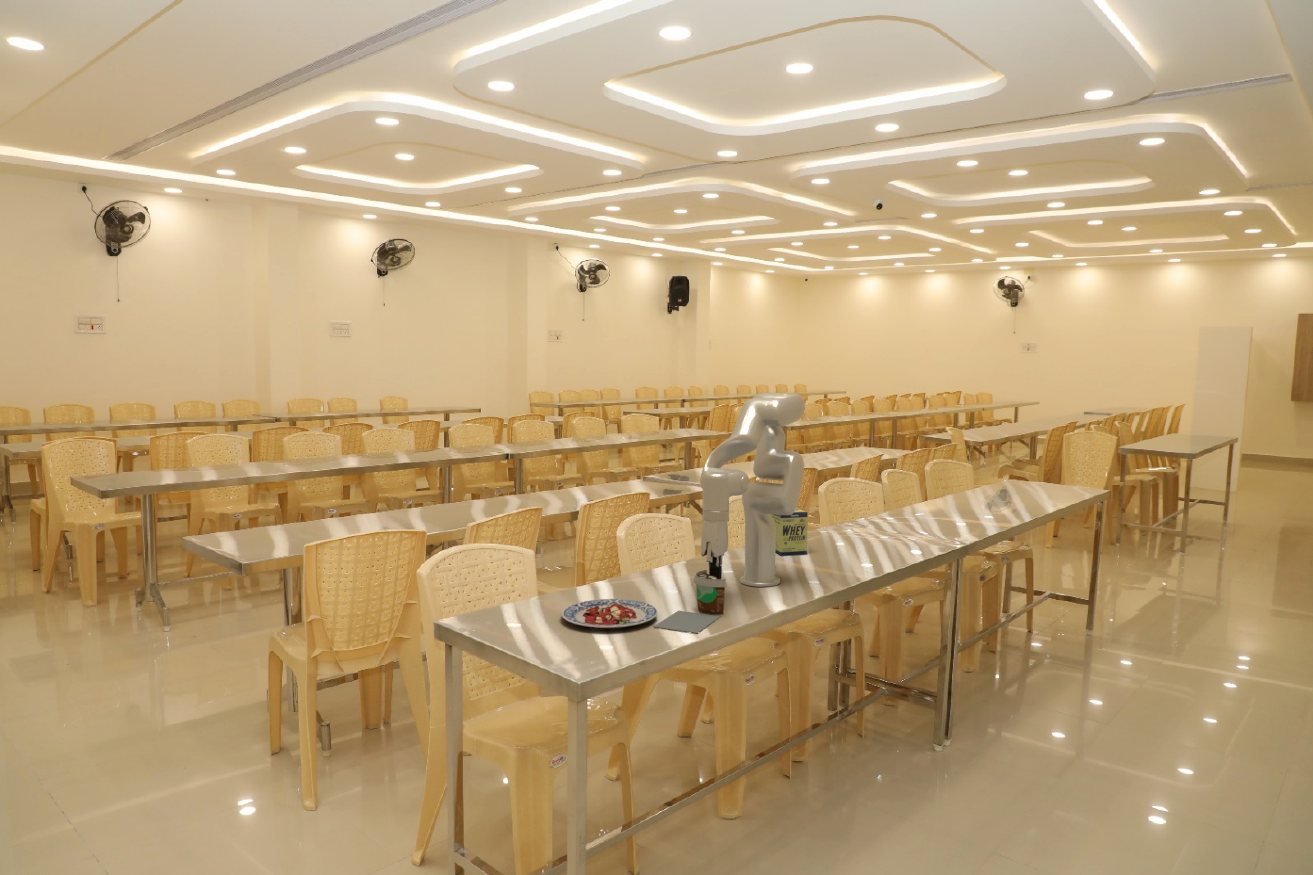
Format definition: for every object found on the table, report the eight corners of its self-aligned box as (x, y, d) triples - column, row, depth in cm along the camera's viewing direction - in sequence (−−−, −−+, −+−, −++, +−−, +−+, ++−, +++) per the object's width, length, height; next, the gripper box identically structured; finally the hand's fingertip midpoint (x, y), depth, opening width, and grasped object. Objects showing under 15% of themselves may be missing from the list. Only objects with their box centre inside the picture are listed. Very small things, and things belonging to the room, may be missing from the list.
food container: (686, 606, 242) (686, 571, 241) (705, 603, 244) (705, 569, 243) (705, 618, 230) (705, 581, 230) (725, 615, 233) (726, 579, 232)
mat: (678, 611, 237) (678, 610, 237) (720, 617, 231) (720, 616, 231) (653, 627, 222) (653, 626, 222) (697, 634, 217) (697, 632, 217)
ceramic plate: (551, 612, 238) (551, 601, 237) (638, 602, 247) (638, 592, 246) (576, 639, 214) (576, 628, 213) (672, 628, 223) (671, 616, 222)
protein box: (780, 556, 304) (781, 513, 303) (765, 547, 319) (765, 506, 318) (807, 554, 307) (808, 512, 305) (791, 546, 322) (791, 505, 320)
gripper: (713, 510, 250) (713, 572, 251) (693, 518, 237) (692, 583, 238) (737, 512, 247) (736, 575, 248) (718, 521, 233) (717, 586, 235)
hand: (715, 579), depth 243 cm, fingers closed
